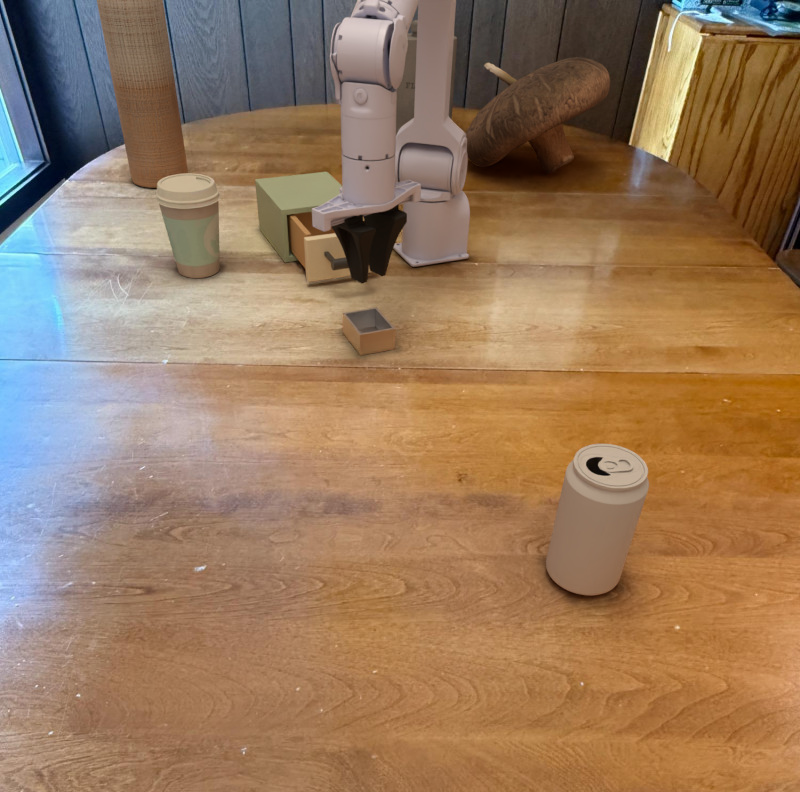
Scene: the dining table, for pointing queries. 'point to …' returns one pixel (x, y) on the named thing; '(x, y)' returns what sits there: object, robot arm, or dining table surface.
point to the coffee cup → (191, 222)
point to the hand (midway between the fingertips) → (368, 276)
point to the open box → (368, 331)
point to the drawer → (316, 249)
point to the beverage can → (596, 518)
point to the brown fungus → (536, 112)
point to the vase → (144, 88)
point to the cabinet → (290, 204)
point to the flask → (408, 81)
